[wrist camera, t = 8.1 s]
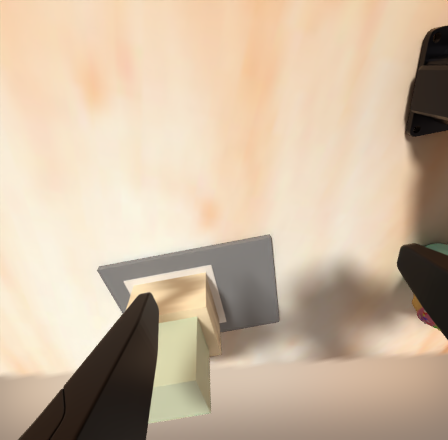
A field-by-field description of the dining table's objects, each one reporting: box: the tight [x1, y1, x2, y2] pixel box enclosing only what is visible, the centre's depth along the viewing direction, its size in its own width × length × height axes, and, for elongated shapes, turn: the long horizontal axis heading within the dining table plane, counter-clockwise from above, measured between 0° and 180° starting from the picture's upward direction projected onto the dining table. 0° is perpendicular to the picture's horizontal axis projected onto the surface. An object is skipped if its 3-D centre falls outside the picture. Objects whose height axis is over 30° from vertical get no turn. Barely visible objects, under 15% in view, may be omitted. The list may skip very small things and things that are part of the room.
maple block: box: [126, 272, 222, 357], centre depth 24 cm, size 7×7×4 cm
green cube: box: [148, 317, 211, 424], centre depth 20 cm, size 5×5×5 cm
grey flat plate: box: [97, 235, 279, 332], centre depth 26 cm, size 16×12×1 cm
